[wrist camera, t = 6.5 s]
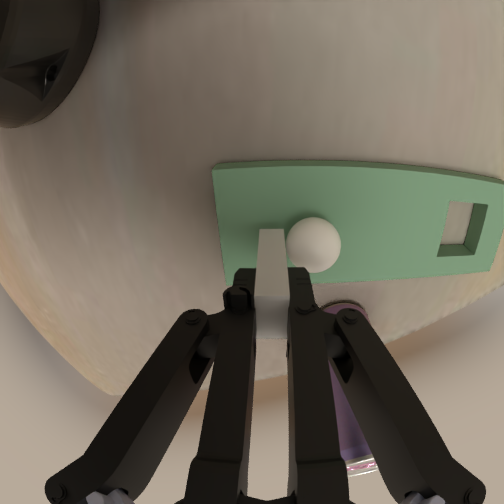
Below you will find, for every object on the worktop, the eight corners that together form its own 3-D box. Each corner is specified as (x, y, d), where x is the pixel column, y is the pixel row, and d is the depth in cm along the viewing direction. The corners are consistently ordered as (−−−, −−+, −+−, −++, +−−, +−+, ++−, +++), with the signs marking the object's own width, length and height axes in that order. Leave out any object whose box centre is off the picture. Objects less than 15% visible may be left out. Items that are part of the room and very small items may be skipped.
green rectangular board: (229, 271, 23) (226, 285, 21) (217, 163, 18) (211, 170, 16) (479, 260, 21) (489, 271, 19) (500, 179, 16) (513, 186, 14)
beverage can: (316, 297, 24) (341, 462, 11) (374, 301, 24) (424, 445, 11) (302, 340, 27) (312, 480, 14) (355, 342, 27) (382, 470, 14)
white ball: (277, 277, 17) (332, 289, 16) (279, 228, 15) (341, 239, 14) (292, 248, 20) (339, 258, 19) (295, 204, 18) (346, 213, 17)
